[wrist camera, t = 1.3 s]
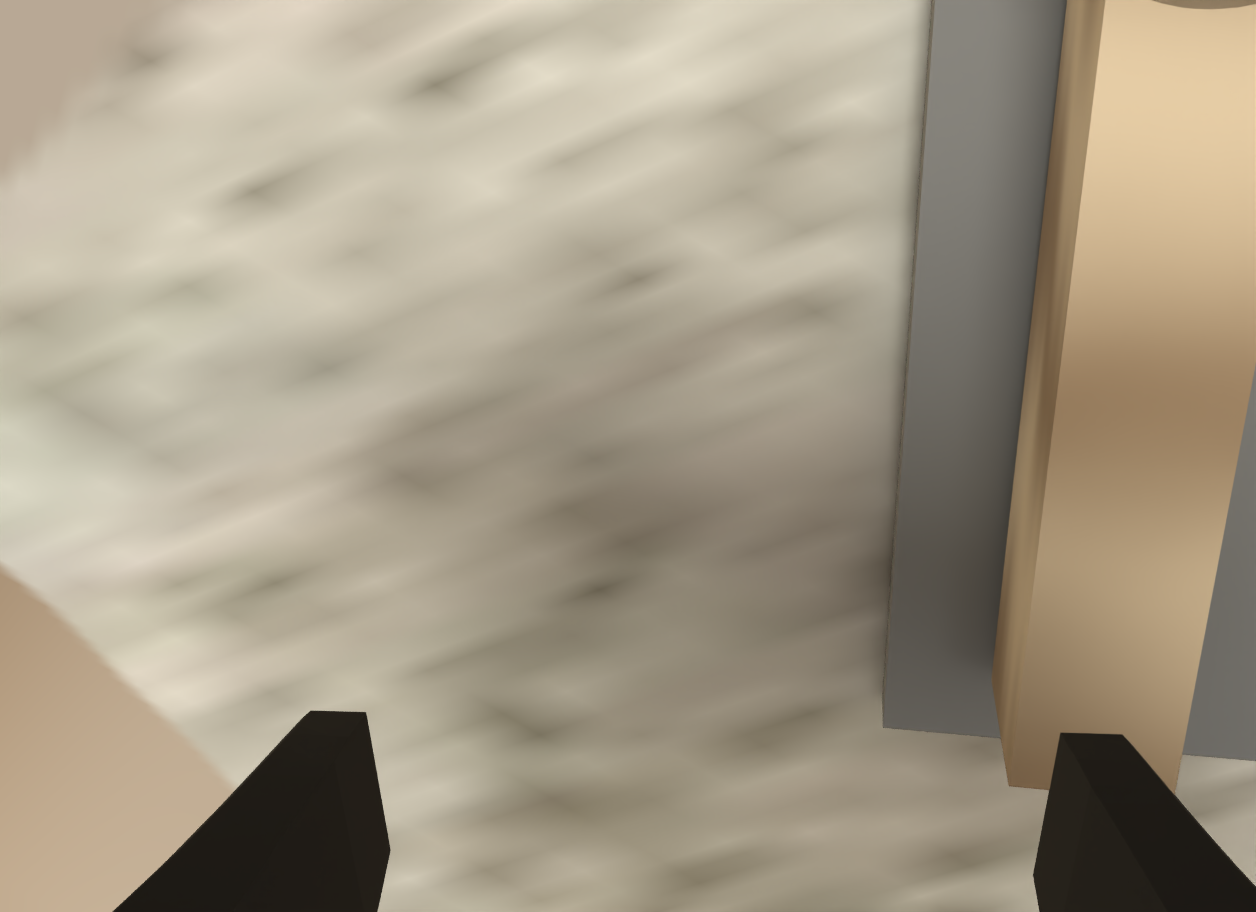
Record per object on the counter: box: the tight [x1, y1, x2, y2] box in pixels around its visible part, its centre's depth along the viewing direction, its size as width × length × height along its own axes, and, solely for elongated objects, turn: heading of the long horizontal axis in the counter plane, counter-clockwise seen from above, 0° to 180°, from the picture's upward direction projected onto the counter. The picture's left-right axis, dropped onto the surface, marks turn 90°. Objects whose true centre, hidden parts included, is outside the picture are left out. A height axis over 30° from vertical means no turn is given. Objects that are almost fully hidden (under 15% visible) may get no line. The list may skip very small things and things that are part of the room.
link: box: [991, 0, 1256, 795], centre depth 17 cm, size 16×4×3 cm, turn 1°
